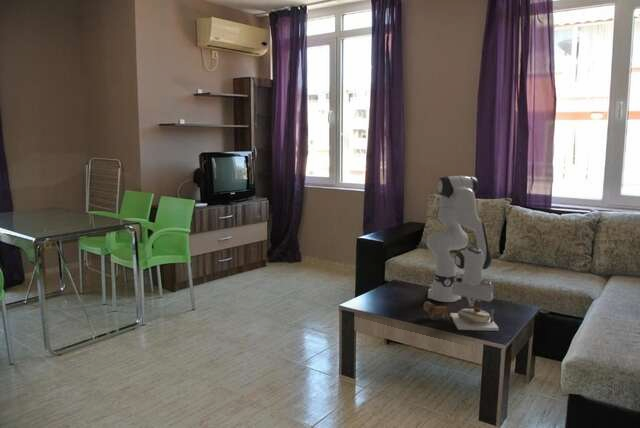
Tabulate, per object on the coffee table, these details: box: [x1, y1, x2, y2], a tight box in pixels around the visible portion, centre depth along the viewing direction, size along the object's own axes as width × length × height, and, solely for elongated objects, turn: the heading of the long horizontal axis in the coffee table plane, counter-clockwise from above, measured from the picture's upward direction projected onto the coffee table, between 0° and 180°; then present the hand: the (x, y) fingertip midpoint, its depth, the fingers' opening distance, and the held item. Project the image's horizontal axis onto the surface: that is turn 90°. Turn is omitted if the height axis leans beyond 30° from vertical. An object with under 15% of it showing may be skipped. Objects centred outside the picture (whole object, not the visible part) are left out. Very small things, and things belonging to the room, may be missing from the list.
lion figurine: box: [423, 301, 452, 321], centre depth 259 cm, size 15×5×9 cm, turn 92°
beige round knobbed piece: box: [457, 299, 491, 322], centre depth 254 cm, size 17×15×6 cm
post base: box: [449, 309, 500, 332], centre depth 254 cm, size 19×19×8 cm
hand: (471, 306), depth 260 cm, fingers closed
